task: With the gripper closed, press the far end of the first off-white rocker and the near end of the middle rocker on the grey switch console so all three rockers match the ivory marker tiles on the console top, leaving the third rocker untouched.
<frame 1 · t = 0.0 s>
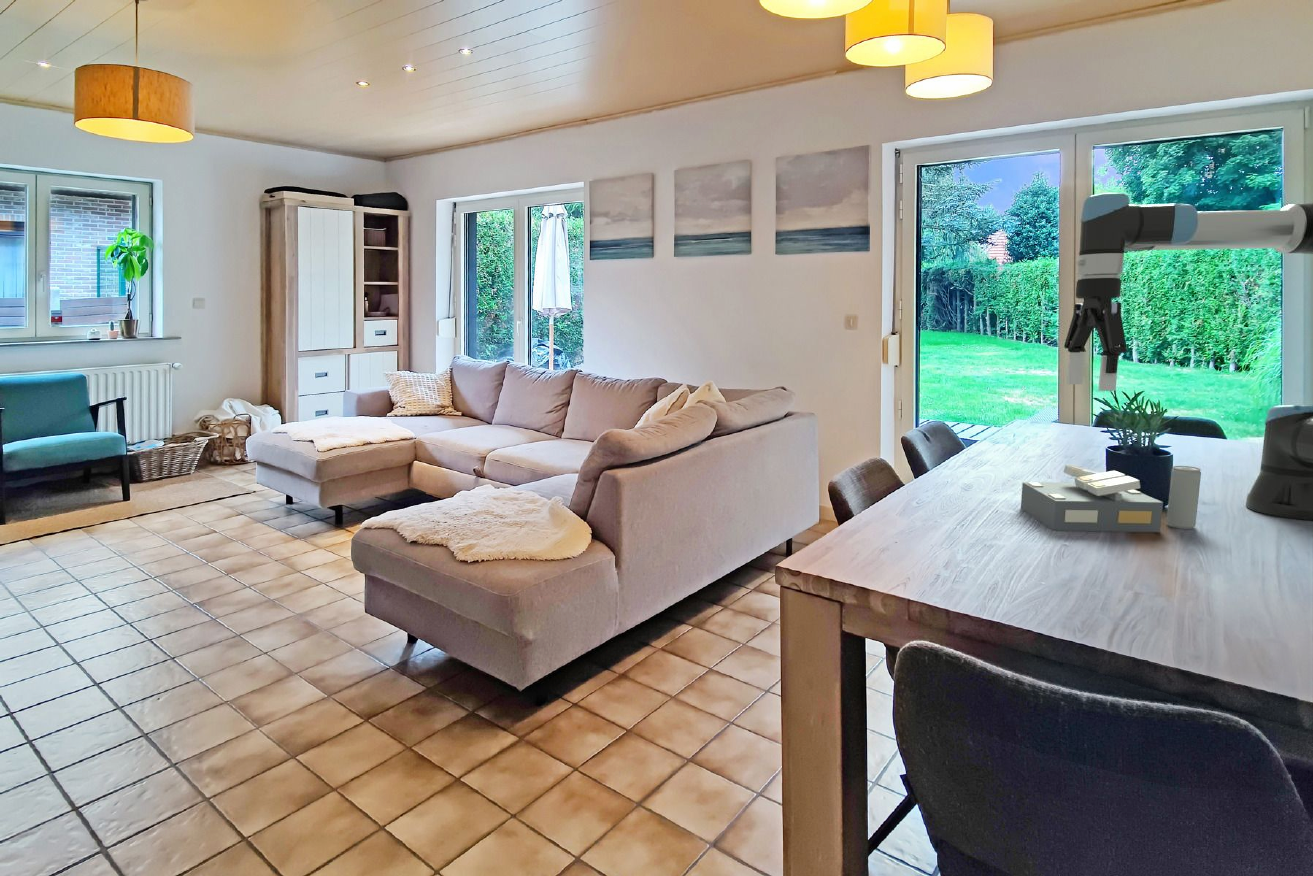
hand: (1090, 387, 149), 28 cm above the table, fingers open, 13 cm apart
rocker a: (1087, 474, 161), point 9 cm above the table, hinge at -12.0°
console: (1086, 519, 157), on the table
rocker c: (1112, 485, 150), point 9 cm above the table, hinge at 12.0°
beverage can: (1180, 527, 151), on the table
rocker b: (1099, 479, 155), point 9 cm above the table, hinge at 12.0°
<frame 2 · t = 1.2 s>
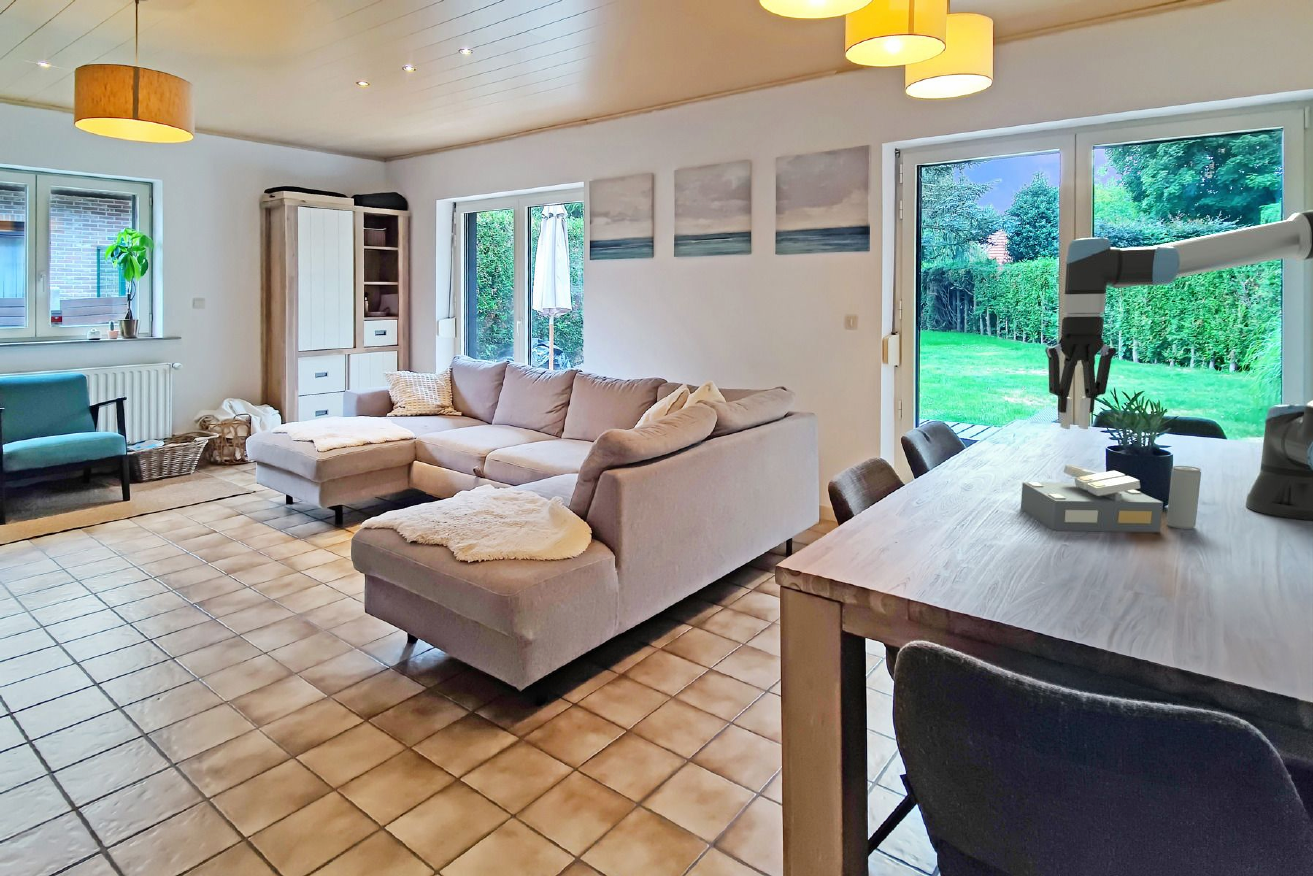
hand: (1074, 427, 159), 19 cm above the table, fingers open, 3 cm apart
nothing on the table moved.
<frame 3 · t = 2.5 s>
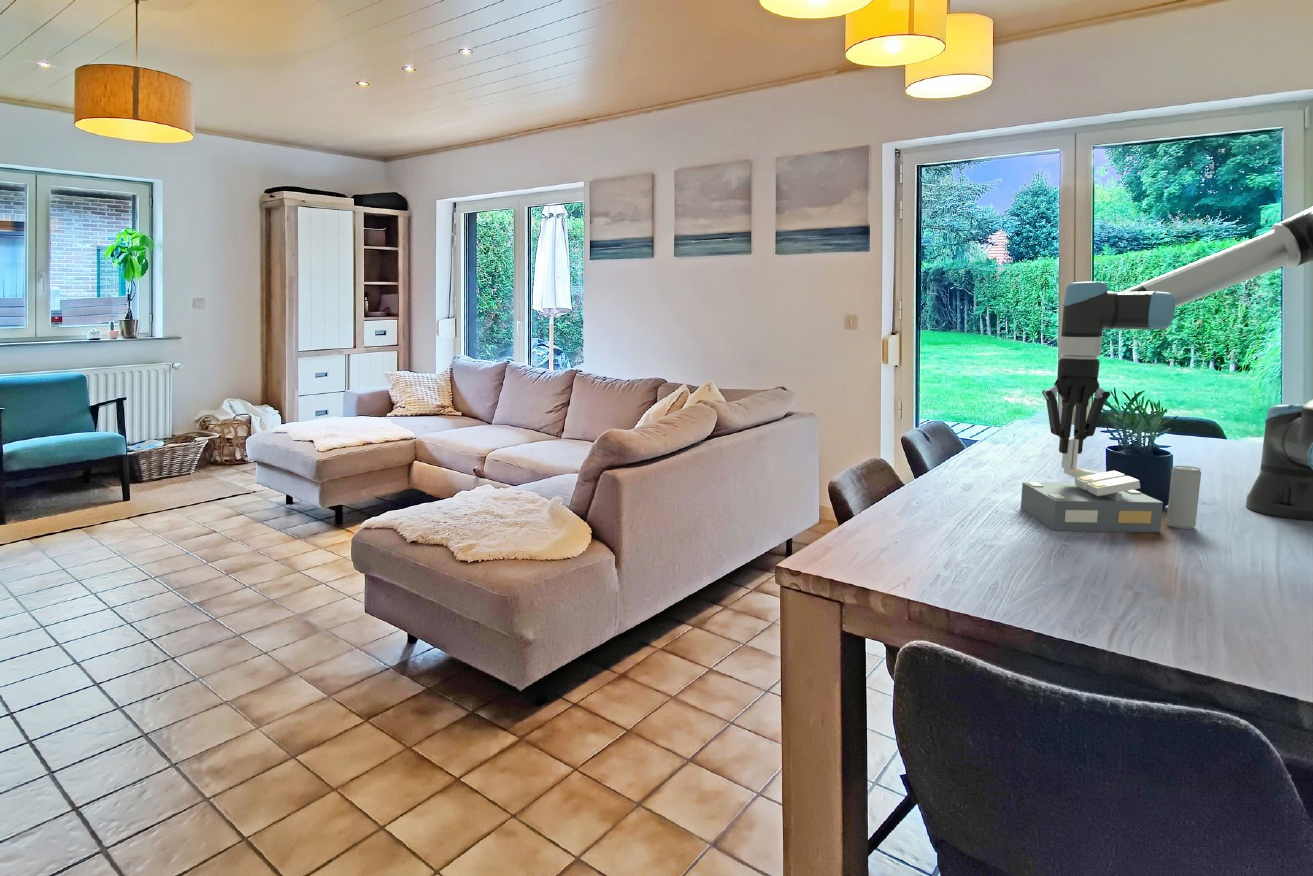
hand: (1068, 468, 161), 10 cm above the table, fingers closed
rocker a: (1087, 474, 161), point 9 cm above the table, hinge at -10.6°, touching gripper
everything else where it was.
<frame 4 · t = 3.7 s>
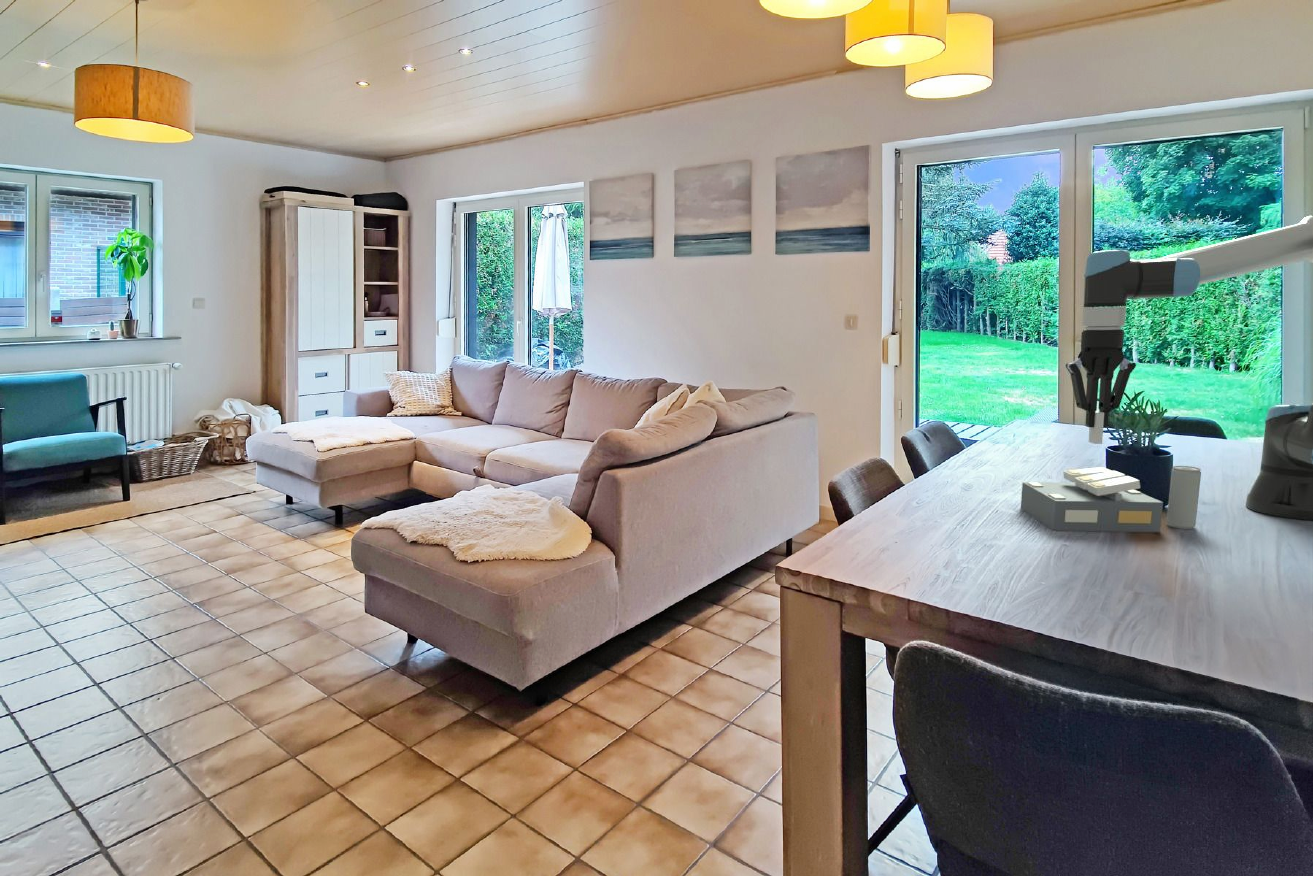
hand: (1095, 442, 157), 16 cm above the table, fingers closed
rocker a: (1087, 474, 161), point 9 cm above the table, hinge at 6.7°
everything else where it was.
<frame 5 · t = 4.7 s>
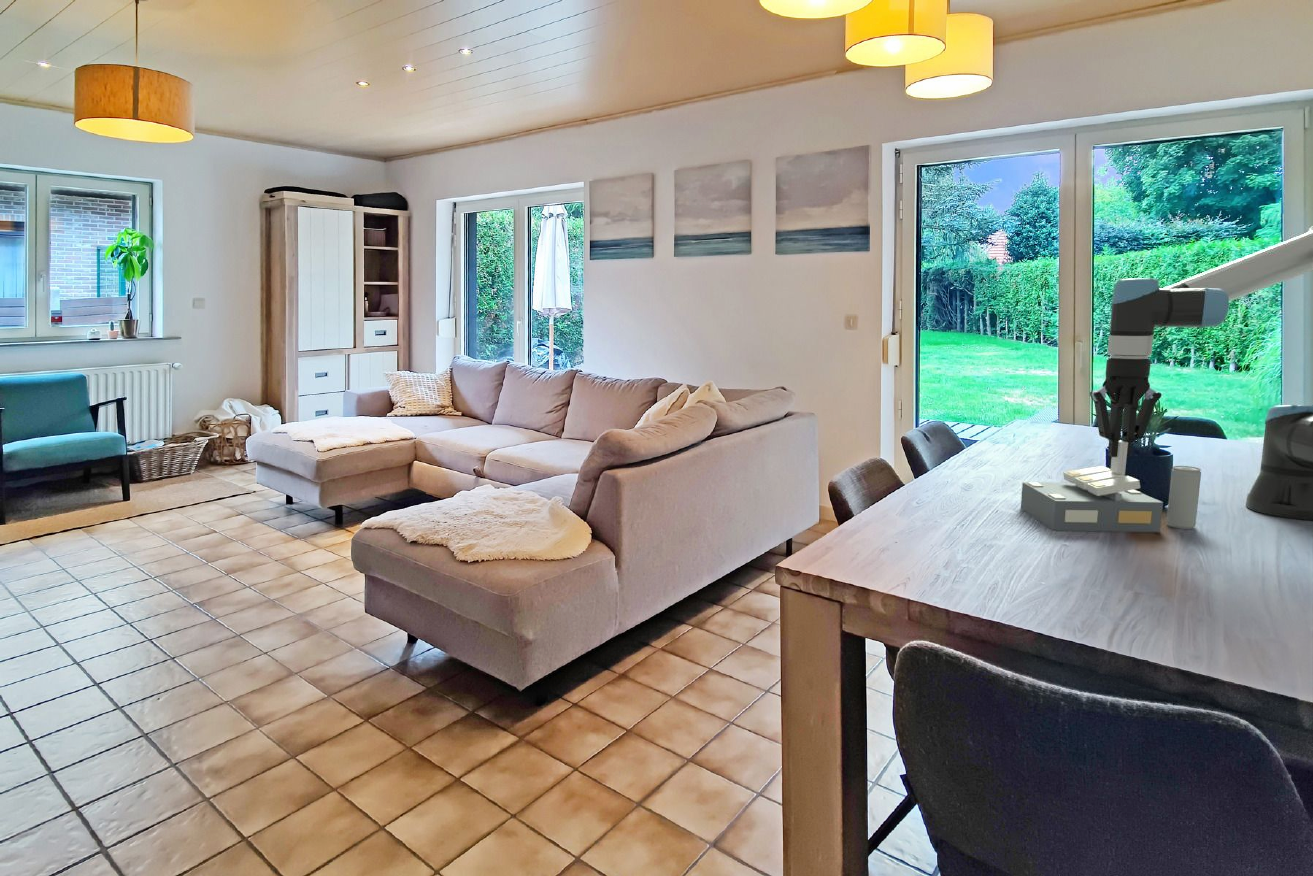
hand: (1117, 472, 155), 10 cm above the table, fingers closed
rocker a: (1087, 474, 161), point 9 cm above the table, hinge at 10.6°
rocker b: (1099, 479, 155), point 9 cm above the table, hinge at 12.0°, touching gripper
everything else where it was.
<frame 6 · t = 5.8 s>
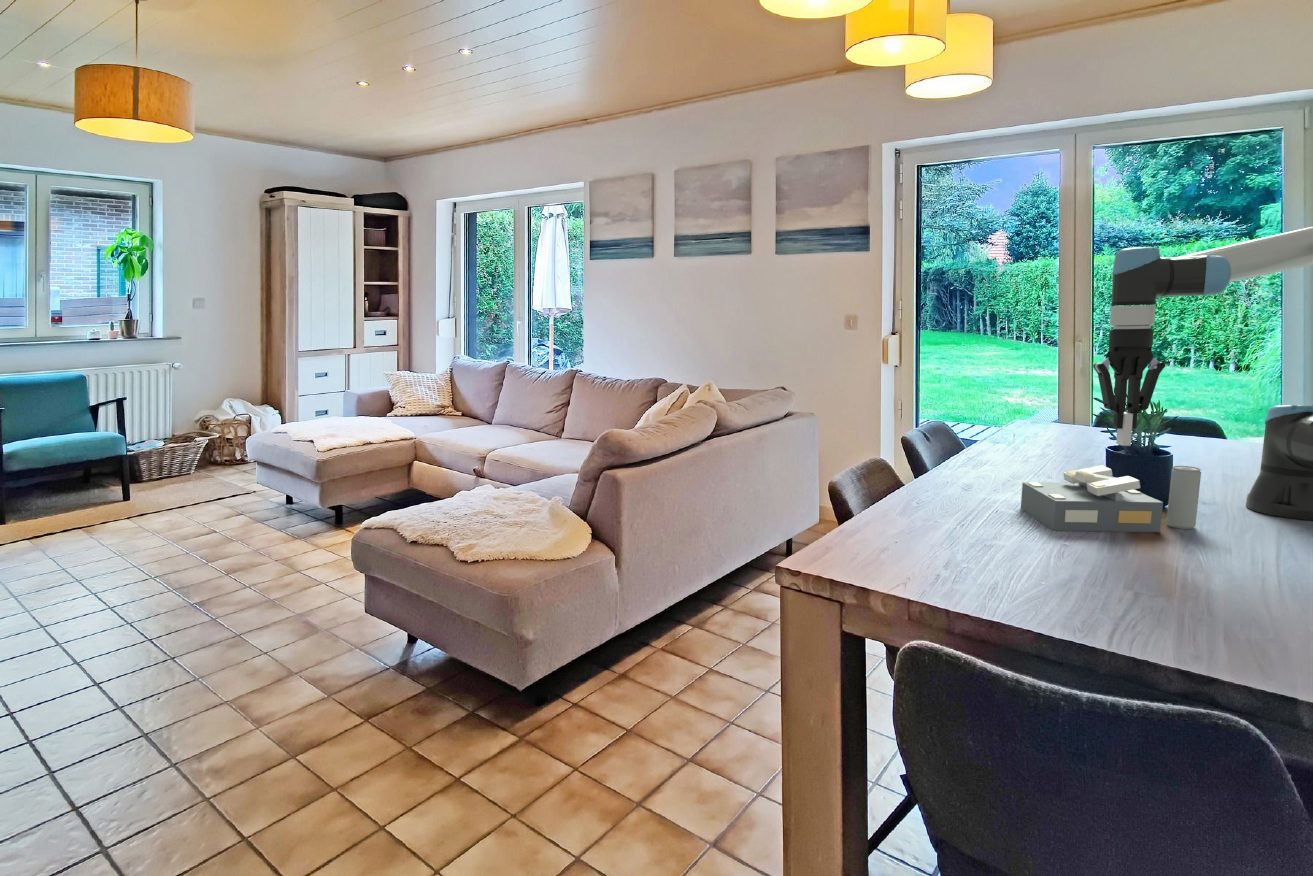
hand: (1123, 444, 154), 16 cm above the table, fingers closed
rocker a: (1087, 474, 161), point 9 cm above the table, hinge at 11.9°
rocker b: (1099, 479, 155), point 9 cm above the table, hinge at -9.3°
everything else where it was.
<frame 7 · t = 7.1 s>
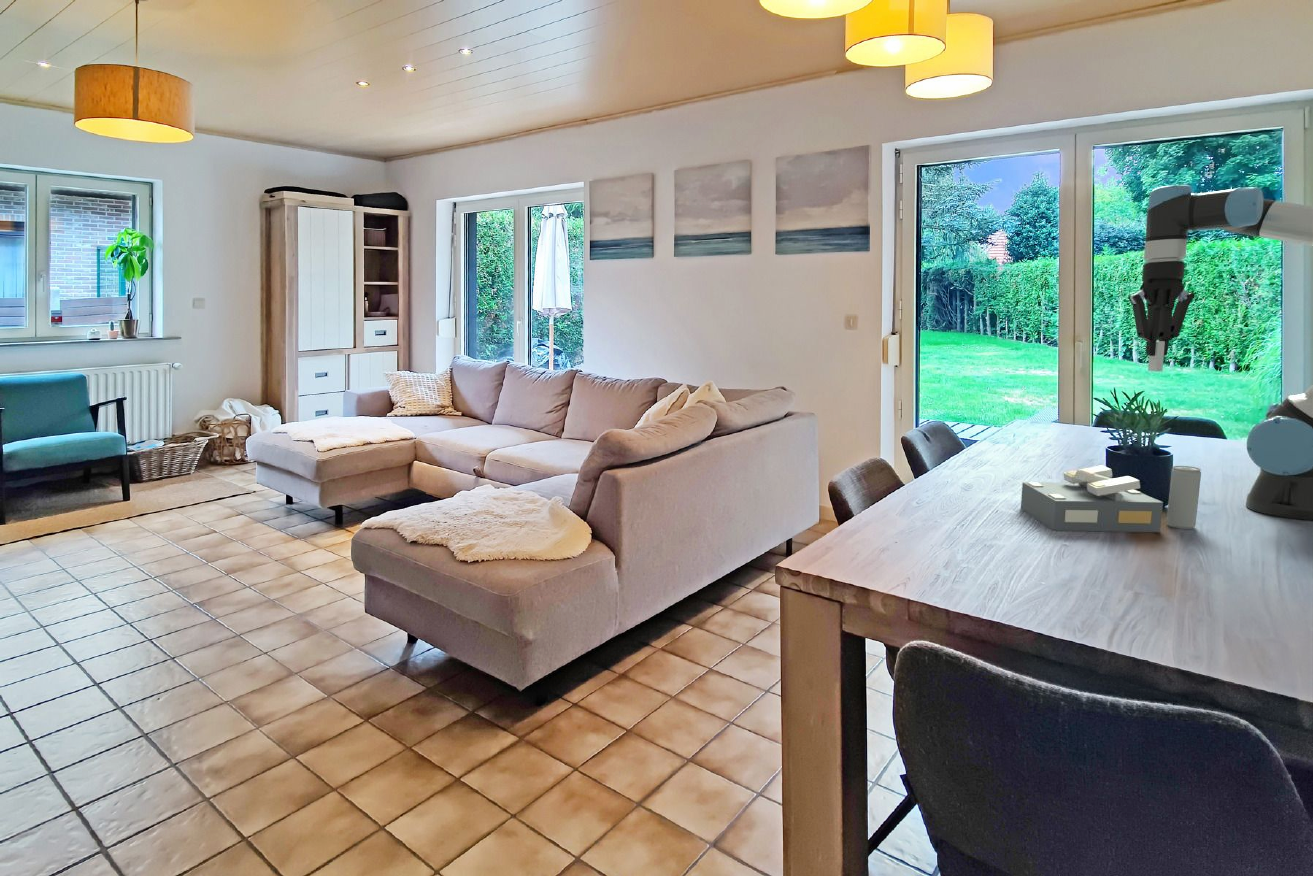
hand: (1155, 370, 166), 30 cm above the table, fingers closed
rocker a: (1087, 474, 161), point 9 cm above the table, hinge at 12.3°
rocker b: (1099, 479, 155), point 9 cm above the table, hinge at -13.8°
everything else where it was.
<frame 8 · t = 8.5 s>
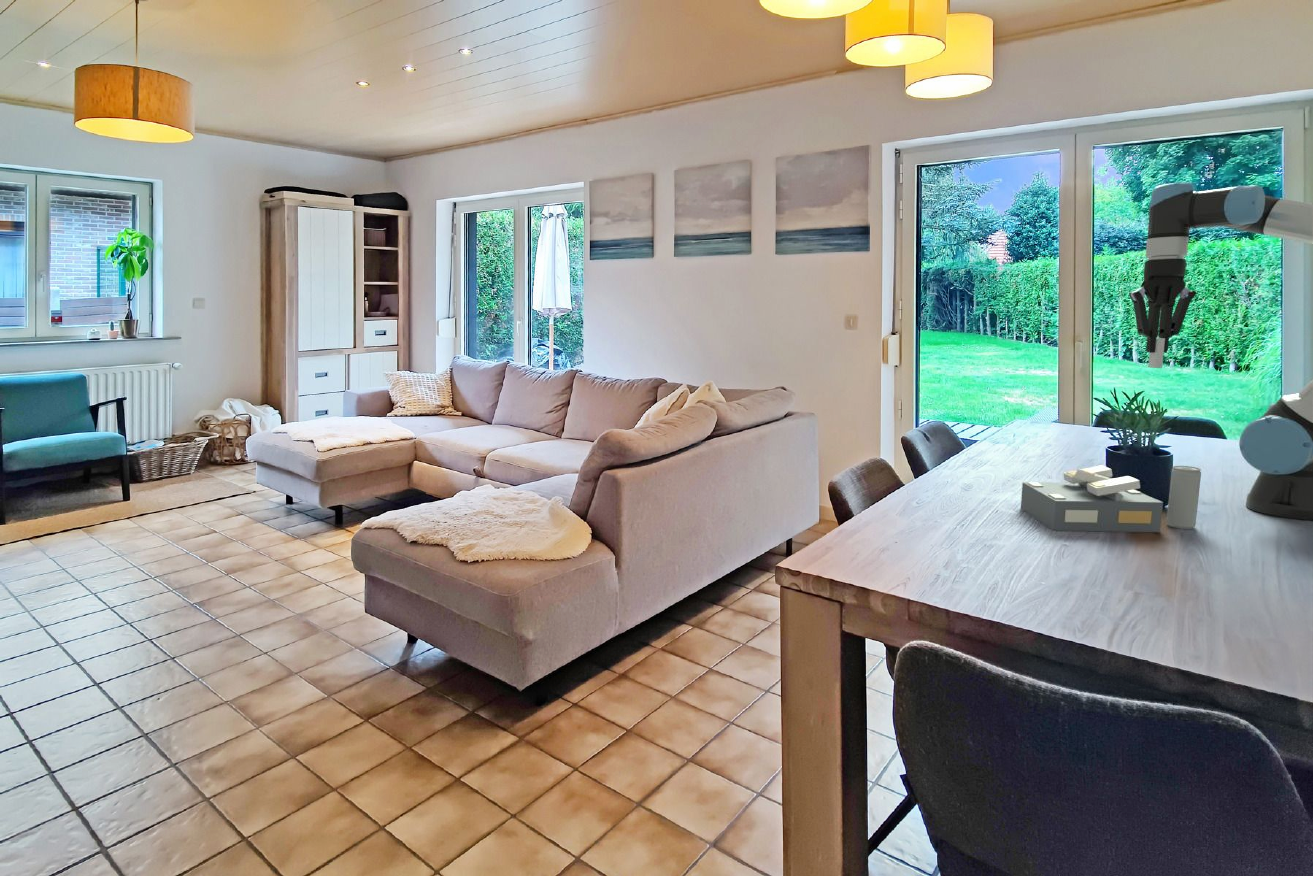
hand: (1155, 367, 167), 30 cm above the table, fingers closed
rocker b: (1099, 479, 155), point 9 cm above the table, hinge at -14.9°
everything else where it was.
at the end: rocker a at +12° (first picture: -12°); rocker b at -15° (first picture: +12°); rocker c at +12° (first picture: +12°) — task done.
